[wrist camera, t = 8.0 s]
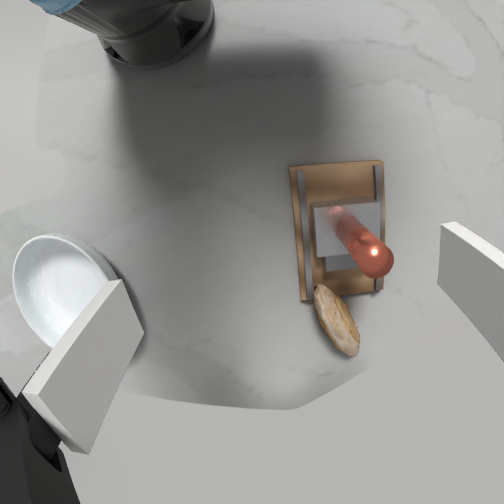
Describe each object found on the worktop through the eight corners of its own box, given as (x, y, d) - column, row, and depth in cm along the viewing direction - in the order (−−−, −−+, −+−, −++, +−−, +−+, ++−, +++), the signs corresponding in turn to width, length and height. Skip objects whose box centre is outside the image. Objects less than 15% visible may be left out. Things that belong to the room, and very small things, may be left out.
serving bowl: (135, 227, 41) (114, 243, 35) (143, 347, 48) (131, 374, 42) (27, 218, 41) (1, 231, 34) (47, 325, 48) (28, 345, 42)
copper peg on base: (309, 202, 37) (333, 234, 25) (371, 197, 37) (417, 225, 25) (314, 263, 40) (335, 316, 28) (372, 256, 40) (411, 304, 27)
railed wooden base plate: (288, 166, 38) (290, 168, 35) (378, 159, 37) (385, 161, 34) (300, 295, 44) (302, 304, 42) (379, 284, 43) (385, 292, 41)
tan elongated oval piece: (330, 296, 36) (298, 308, 38) (369, 360, 41) (341, 368, 43) (330, 269, 40) (301, 281, 42) (367, 334, 45) (341, 342, 47)
